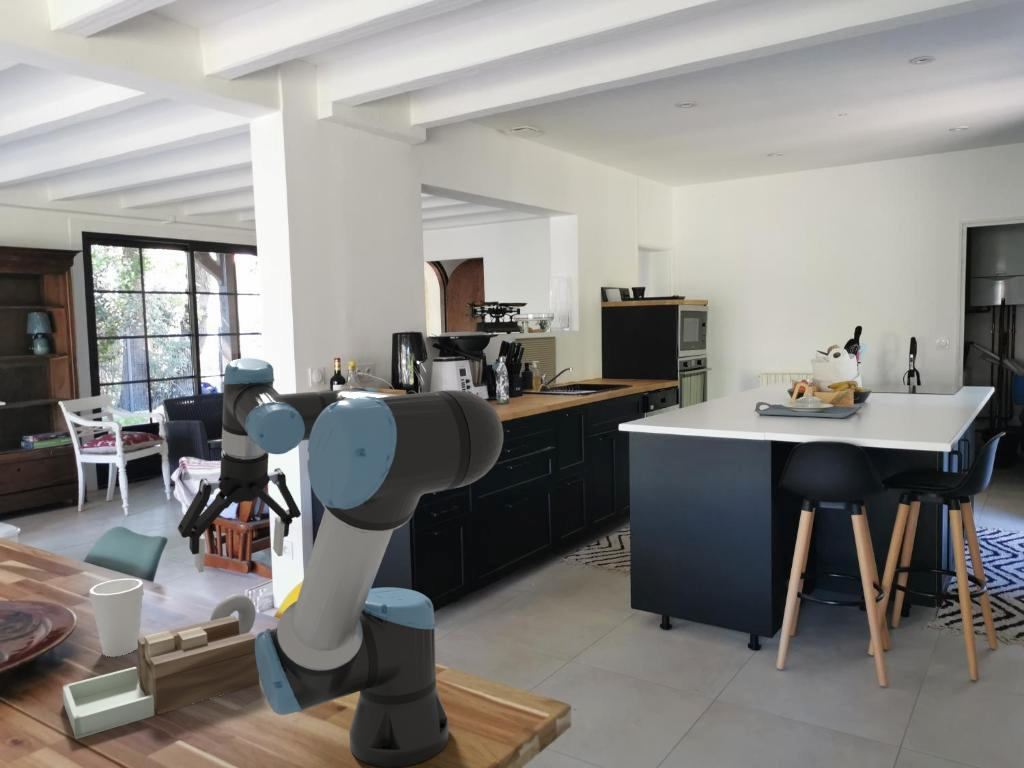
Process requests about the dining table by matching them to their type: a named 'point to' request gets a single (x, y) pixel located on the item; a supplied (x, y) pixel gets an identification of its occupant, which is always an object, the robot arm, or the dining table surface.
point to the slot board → (200, 666)
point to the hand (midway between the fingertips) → (239, 560)
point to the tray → (106, 702)
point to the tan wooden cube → (159, 644)
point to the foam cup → (118, 614)
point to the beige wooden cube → (191, 638)
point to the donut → (237, 604)
